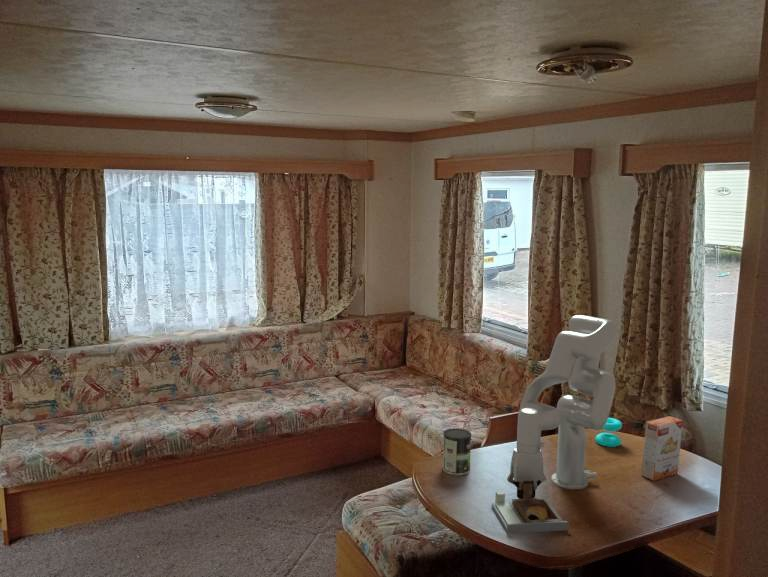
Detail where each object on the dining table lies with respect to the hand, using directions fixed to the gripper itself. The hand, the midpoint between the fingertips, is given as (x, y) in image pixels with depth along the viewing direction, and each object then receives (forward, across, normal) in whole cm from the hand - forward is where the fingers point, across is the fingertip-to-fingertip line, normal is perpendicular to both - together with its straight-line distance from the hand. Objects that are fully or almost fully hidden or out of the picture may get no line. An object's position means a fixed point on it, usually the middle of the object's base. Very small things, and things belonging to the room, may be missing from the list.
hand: (525, 498), depth 211 cm
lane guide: (+1, +3, +10) cm, 11 cm away
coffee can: (+2, +17, -28) cm, 33 cm away
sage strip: (+1, +9, +9) cm, 12 cm away
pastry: (+2, 0, +10) cm, 10 cm away
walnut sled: (+1, 0, +8) cm, 8 cm away
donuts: (+2, -52, -48) cm, 71 cm away
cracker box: (+2, -57, -17) cm, 59 cm away
